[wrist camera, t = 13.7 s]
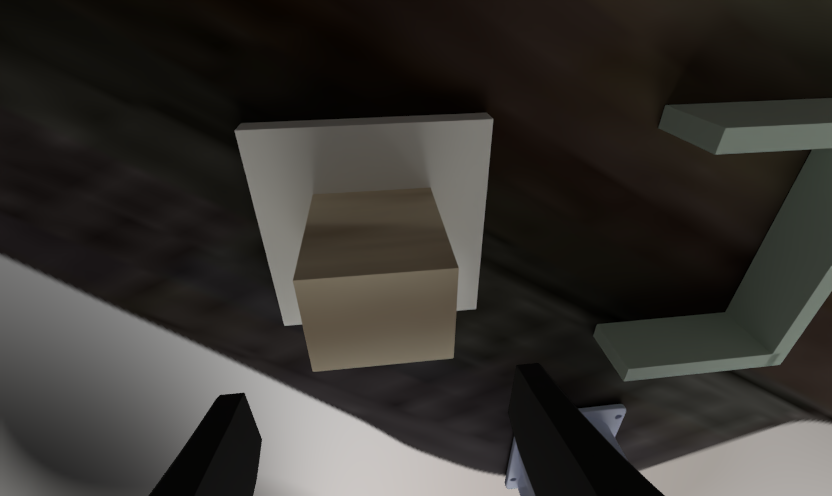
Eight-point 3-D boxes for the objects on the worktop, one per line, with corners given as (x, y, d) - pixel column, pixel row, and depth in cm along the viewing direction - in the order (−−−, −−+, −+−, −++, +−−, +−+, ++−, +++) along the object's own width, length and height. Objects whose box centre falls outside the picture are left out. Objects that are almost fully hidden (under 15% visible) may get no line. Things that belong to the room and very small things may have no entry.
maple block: (429, 263, 20) (453, 358, 15) (325, 271, 19) (312, 371, 14) (430, 187, 17) (458, 267, 12) (313, 194, 17) (292, 280, 12)
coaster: (471, 297, 22) (476, 308, 22) (287, 312, 21) (284, 325, 21) (486, 112, 17) (493, 119, 16) (241, 123, 16) (234, 130, 15)
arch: (733, 322, 26) (780, 364, 23) (593, 335, 25) (623, 381, 22) (859, 96, 19) (952, 117, 16) (665, 105, 18) (725, 128, 15)
